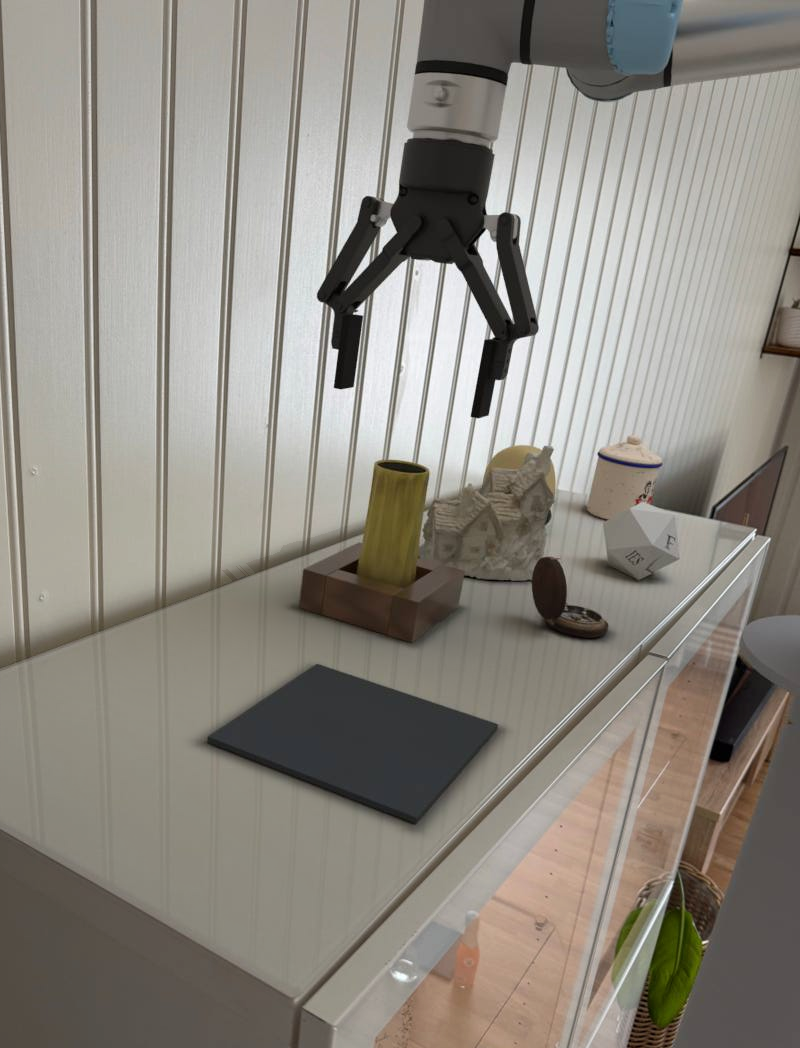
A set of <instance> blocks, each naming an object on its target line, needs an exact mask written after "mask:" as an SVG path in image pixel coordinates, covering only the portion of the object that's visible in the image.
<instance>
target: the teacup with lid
mask: <svg viewBox="0 0 800 1048" xmlns="http://www.w3.org/2000/svg"><path fill="white" fill-rule="evenodd" d="M642 441H643V439H642V437H641V436H638V435H633V434H631V435H630V434H629V435H628V436H627V438H626V441H620V442H617V443H615V444H613V445H608V446H607V445H606V446H602V447H601V448H600V449H599V450H598V452H597V455H596V456H598V457H597V460H596V461H597V462H596V466H595V470H594V474H593V479H592V483H591V487H590V490H589V491H590V492H589V496H588V500H587V504H586V510H587V511H588V513H590V514H591V515H592V516H594V517H598V518H600V519H603V520H606V521H607V520H609V519H611V518H613V517H615V516H617V515H619V514H620V513H622V512H624V511H626V510H628V509H630V508H632V507H634V506H636V505H638V504H640V503H642V502H645V503H647V504H650V505H651V502H652V499H653V495H654V490H655V487H656V483H657V479H658V476H659V472H660V468H661V467H662V466H663V463H662V462H663V459H662V458H661V456H659V455H657V454H655V453H653V452H652V450H650V449H649V448H648V447H647V446H646V445H644V444H642Z"/></svg>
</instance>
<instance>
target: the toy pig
mask: <svg viewBox="0 0 800 1048" xmlns="http://www.w3.org/2000/svg"><path fill="white" fill-rule="evenodd" d="M529 452H533V453H538V454H541V453H542V449H541V448H539V447H536V446H532V445H529V444H528V445H526V444H518V445H512V446H508V447H505V448H504V449H503V448H502V449H501V450H500V451H498V452H497V453H495V455H494V456H493V457H492V458H491V459H490V460H489V462H488V464H487V466H486V468H485V471H484V474H483V479H482V484H483V483H484V482H485V479H486V477H487V475H488V472H489V471H490V470H491V468H501V469H512V470H516V469H520V468H522V465H523V463H524V460H525V457H526V454H528V453H529ZM555 471H556V470H555V466H554V463H553V460H552V459H551V467H550V471H549V473H548V475H547V476H546V481H547V484H548V487H549V488H550V489H551V492H553V494H554V497H555V496H556V472H555ZM552 507H553V504H552V505H551V506H550V508H549V512H548V515H547V519H546V522H545V525H544V526H545V527H546V526H547V525H548V524H549V523H550V522H551V520H552V515H553V514H552V511H551V508H552Z"/></svg>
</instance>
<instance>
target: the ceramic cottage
mask: <svg viewBox="0 0 800 1048" xmlns="http://www.w3.org/2000/svg"><path fill="white" fill-rule="evenodd" d="M541 450H542V453H541V454H538V453H533V452H529V453H528V454H526V457H525V460H524V463H523V465H522V468H520V469H516V470H512V469H501V468H491V470H490V471H489V472H488V475H487V477H486V479H485V482H484V483H483V482H482V485H481V487H480V488H479V490H477V489H476V487H475V486H474V485H473V484H472V483H470V482H469V483H468V485H467V486H465V487H464V489H463V490H462V492H461V493H460V494H459V495H457V499H456V500H450V499H444V498H440V497H436V498H435V499H434V500H432V502H431V504H430V506H429V508H428V510H427V513H426V516H427V517H428V518H427V519H426V520H425V523H424V524H423V528H421V532H422V533H423V534H422V538H423V539H424V542H423V543H422V544H421V545H419V550H418V558H419V559H423V560H426V561H430V562H434V563H438V564H441V565H445V566H449V567H452V568H456V569H460V570H464V571H465V573H464V576H469V577H470V578H474V577H475V578H476V579H479V580H497V581H504V580H505V581H509V580H510V581H512V582H515V581H525V582H526V581H528V580H529V581H532V575H533V571H534V567H535V565H536V563H537V561H538V560H539V559H540V558H543V557H548V555H547V554H546V553H545V552H546V551H545V549H546V545H547V530H546V528H545V527H546V525H545V522H546V519H547V515H548V512H549V508H550V506H551V505H552V506H553V505H554V503H555V502H556V501H555V500H556V499H555V496H554V494H553V492H551V489H550V488H549V487H548V484H547V481H546V476H547V475H548V473H549V471H550V467H551V460H552V459H551V458H552V455H553V453H554V450H555V448H554V446H552V445H543V447H542V449H541ZM550 509H551V508H550ZM544 525H545V526H544Z"/></svg>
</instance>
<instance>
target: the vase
mask: <svg viewBox="0 0 800 1048" xmlns="http://www.w3.org/2000/svg"><path fill="white" fill-rule="evenodd" d="M430 473H431V472H430V469H429V468H428V467H427V466H424V465H422V464H421V463H416V462H412V461H408V460H402V459H401V460H400V459H379V460H377V461H374V464H373V473H372V479H371V487H370V492H369V499H368V506H367V512H366V517H365V524H364V529H363V537H362V542H361V543H362V547H361V552H360V557H359V562H358V567H357V573H356V575H359V576H362V577H366V578H369V579H373V580H376V581H380V582H383V583H387V584H390V585H394V586H397V587H401V588H406V587H408V586H409V585H411V584H412V583H414V582H415V575H416V566H417V558H419V557H418V550H419V547H420V543H421V542H420V541H421V533H422V525H423V520H424V519H423V518H424V513H425V507H426V500H427V494H428V493H427V492H428V486H429V481H430Z"/></svg>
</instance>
